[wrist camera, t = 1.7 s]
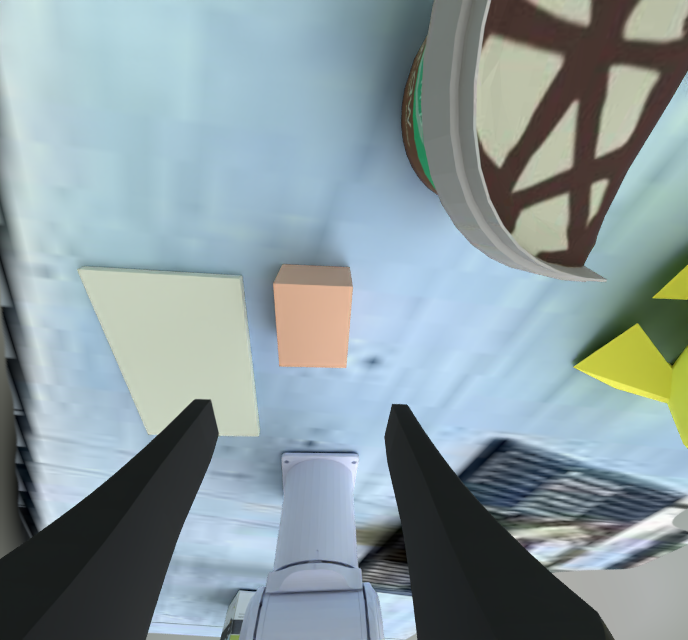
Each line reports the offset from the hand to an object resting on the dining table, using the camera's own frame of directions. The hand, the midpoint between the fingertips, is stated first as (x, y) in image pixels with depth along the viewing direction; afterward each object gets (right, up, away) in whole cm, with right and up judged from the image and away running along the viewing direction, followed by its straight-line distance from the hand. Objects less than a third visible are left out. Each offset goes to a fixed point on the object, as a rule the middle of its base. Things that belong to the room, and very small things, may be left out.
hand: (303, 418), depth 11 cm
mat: (-11, 0, +11) cm, 15 cm away
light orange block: (0, +5, +9) cm, 10 cm away
